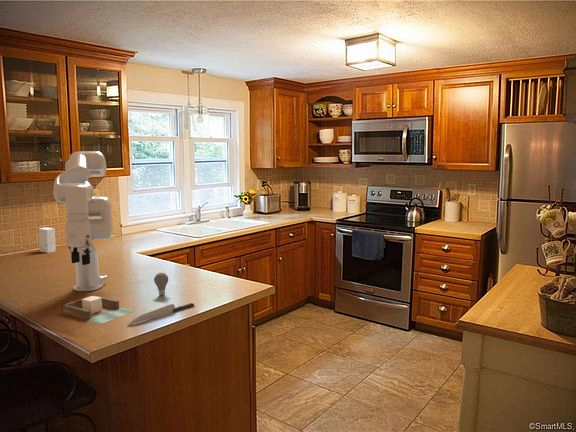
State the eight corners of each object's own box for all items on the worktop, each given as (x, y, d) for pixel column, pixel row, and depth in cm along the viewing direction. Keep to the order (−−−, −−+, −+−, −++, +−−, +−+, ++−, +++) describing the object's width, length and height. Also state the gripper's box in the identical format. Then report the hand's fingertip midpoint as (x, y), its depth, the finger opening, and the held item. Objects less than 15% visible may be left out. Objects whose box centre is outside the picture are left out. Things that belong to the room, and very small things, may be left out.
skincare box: (39, 251, 295) (37, 228, 293) (48, 250, 301) (46, 226, 299) (48, 253, 292) (46, 229, 289) (56, 251, 297) (55, 227, 295)
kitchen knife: (192, 298, 192) (124, 316, 169) (193, 298, 191) (126, 316, 168) (192, 308, 192) (124, 327, 170) (194, 308, 191) (126, 328, 169)
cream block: (93, 307, 187) (92, 295, 186) (102, 310, 184) (101, 297, 184) (82, 311, 182) (81, 299, 182) (91, 313, 180) (90, 301, 179)
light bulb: (170, 293, 209) (169, 271, 208) (167, 297, 203) (166, 274, 202) (156, 293, 209) (155, 271, 207) (153, 297, 203) (152, 274, 201)
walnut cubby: (95, 304, 195) (94, 294, 194) (135, 313, 183) (134, 303, 183) (60, 315, 181) (59, 305, 180) (100, 326, 169) (100, 316, 169)
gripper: (54, 217, 182) (58, 263, 184) (84, 220, 173) (87, 268, 176) (72, 214, 188) (75, 259, 191) (101, 217, 180) (104, 264, 182)
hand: (81, 263), depth 183 cm, fingers open, 5 cm apart
